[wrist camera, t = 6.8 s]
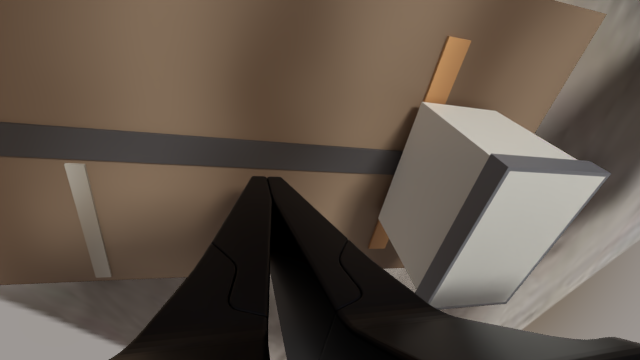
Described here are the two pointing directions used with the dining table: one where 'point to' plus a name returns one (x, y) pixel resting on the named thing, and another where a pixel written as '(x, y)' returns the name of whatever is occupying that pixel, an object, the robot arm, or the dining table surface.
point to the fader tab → (479, 204)
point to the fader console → (238, 114)
